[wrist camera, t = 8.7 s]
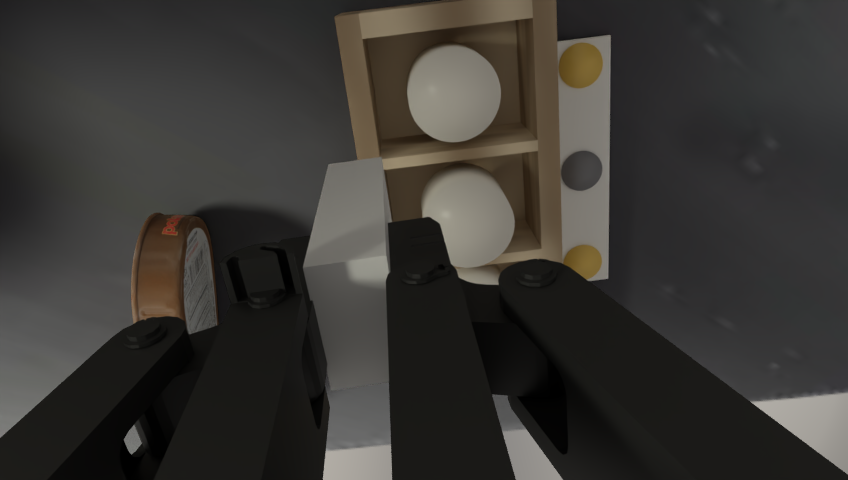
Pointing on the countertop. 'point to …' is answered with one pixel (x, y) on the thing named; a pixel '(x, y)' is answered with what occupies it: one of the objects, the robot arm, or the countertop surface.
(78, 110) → the countertop surface
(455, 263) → the button
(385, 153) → the wooden compartment tray
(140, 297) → the tin
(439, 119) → the button
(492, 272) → the button
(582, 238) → the card
